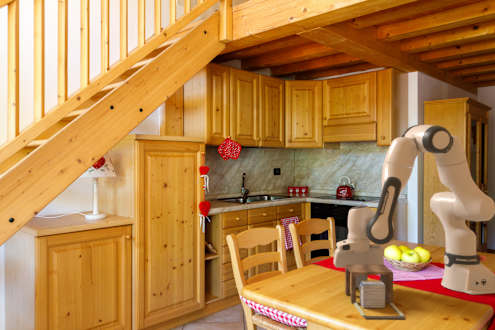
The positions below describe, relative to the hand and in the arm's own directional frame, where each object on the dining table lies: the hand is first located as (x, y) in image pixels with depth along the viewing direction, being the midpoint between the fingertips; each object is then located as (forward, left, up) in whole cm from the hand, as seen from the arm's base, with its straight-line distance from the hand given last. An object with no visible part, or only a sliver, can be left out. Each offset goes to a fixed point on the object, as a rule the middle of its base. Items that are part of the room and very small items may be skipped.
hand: (358, 277), depth 158 cm
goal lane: (0, +25, -4) cm, 26 cm away
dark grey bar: (0, +32, -4) cm, 32 cm away
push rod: (0, +10, -3) cm, 11 cm away
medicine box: (+1, +21, -4) cm, 22 cm away
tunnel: (0, +14, -4) cm, 14 cm away
